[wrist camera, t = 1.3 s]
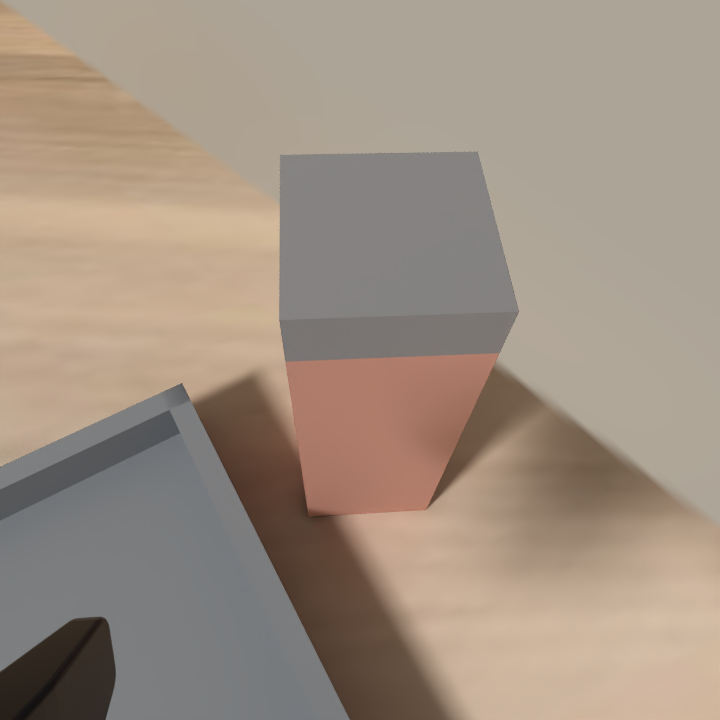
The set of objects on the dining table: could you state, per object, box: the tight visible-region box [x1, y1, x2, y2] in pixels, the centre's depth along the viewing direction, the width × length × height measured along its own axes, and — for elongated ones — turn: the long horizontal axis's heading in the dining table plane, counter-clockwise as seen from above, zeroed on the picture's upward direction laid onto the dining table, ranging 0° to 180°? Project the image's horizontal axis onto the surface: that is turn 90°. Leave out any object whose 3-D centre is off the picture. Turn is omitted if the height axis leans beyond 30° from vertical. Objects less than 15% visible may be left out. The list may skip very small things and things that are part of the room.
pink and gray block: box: [279, 152, 519, 516], centre depth 17 cm, size 4×4×13 cm
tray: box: [0, 383, 350, 720], centre depth 17 cm, size 16×14×3 cm
